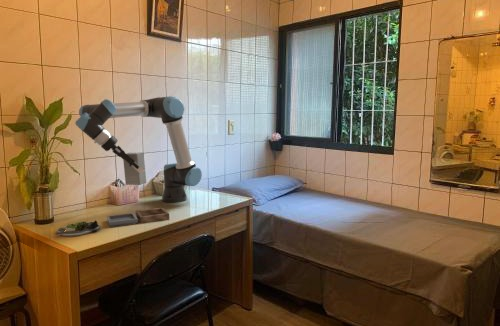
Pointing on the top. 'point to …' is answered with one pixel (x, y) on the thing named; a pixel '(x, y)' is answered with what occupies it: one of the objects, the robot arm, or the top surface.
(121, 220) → the tray
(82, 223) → the salad plate
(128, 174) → the skincare box
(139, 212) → the square wooden tray
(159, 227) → the top surface
